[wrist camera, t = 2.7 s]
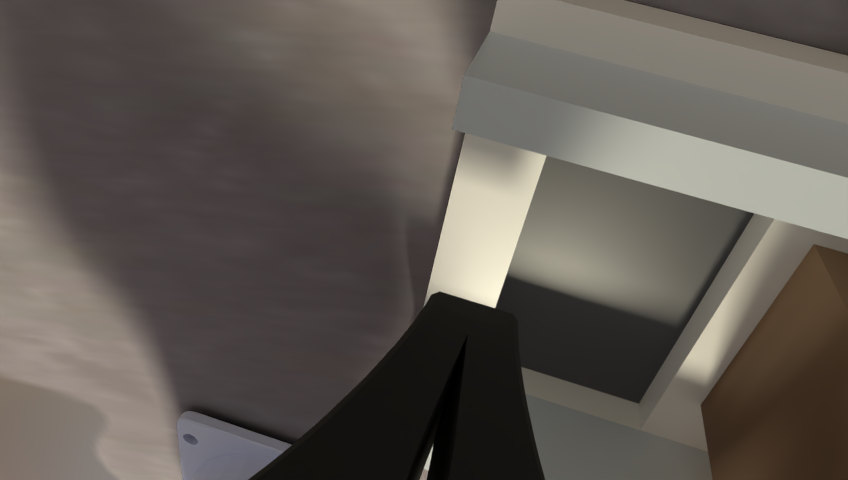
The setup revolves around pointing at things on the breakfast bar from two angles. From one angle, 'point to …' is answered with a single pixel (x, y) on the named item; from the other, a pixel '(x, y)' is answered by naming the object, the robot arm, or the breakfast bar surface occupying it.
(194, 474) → the robot arm
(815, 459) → the walnut block
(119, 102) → the breakfast bar surface
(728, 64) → the trap channel
